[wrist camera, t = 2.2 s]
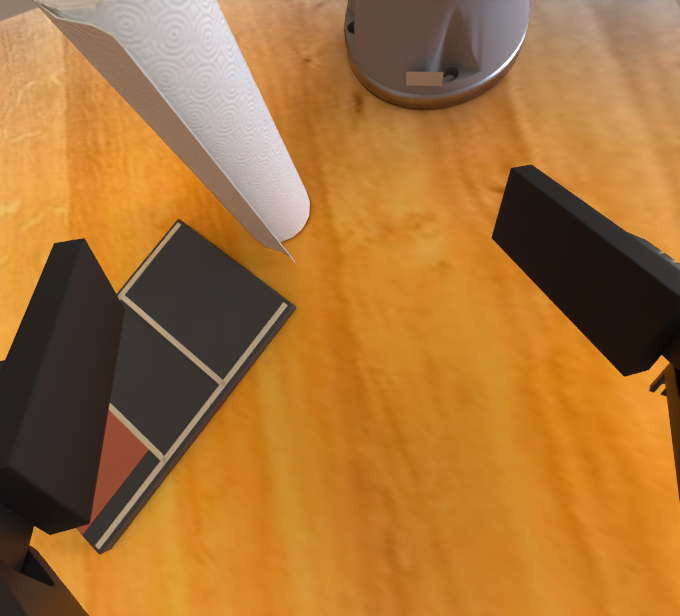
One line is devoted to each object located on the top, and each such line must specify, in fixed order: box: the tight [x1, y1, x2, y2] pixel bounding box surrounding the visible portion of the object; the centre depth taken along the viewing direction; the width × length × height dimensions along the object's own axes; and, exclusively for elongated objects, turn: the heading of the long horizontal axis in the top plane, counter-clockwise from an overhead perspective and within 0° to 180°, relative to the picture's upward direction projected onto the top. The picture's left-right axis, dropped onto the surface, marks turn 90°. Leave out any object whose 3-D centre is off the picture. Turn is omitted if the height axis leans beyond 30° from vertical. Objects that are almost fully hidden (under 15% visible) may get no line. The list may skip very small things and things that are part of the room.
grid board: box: [77, 219, 296, 554], centre depth 32 cm, size 23×13×1 cm, turn 143°
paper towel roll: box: [32, 0, 310, 263], centre depth 24 cm, size 7×6×21 cm
